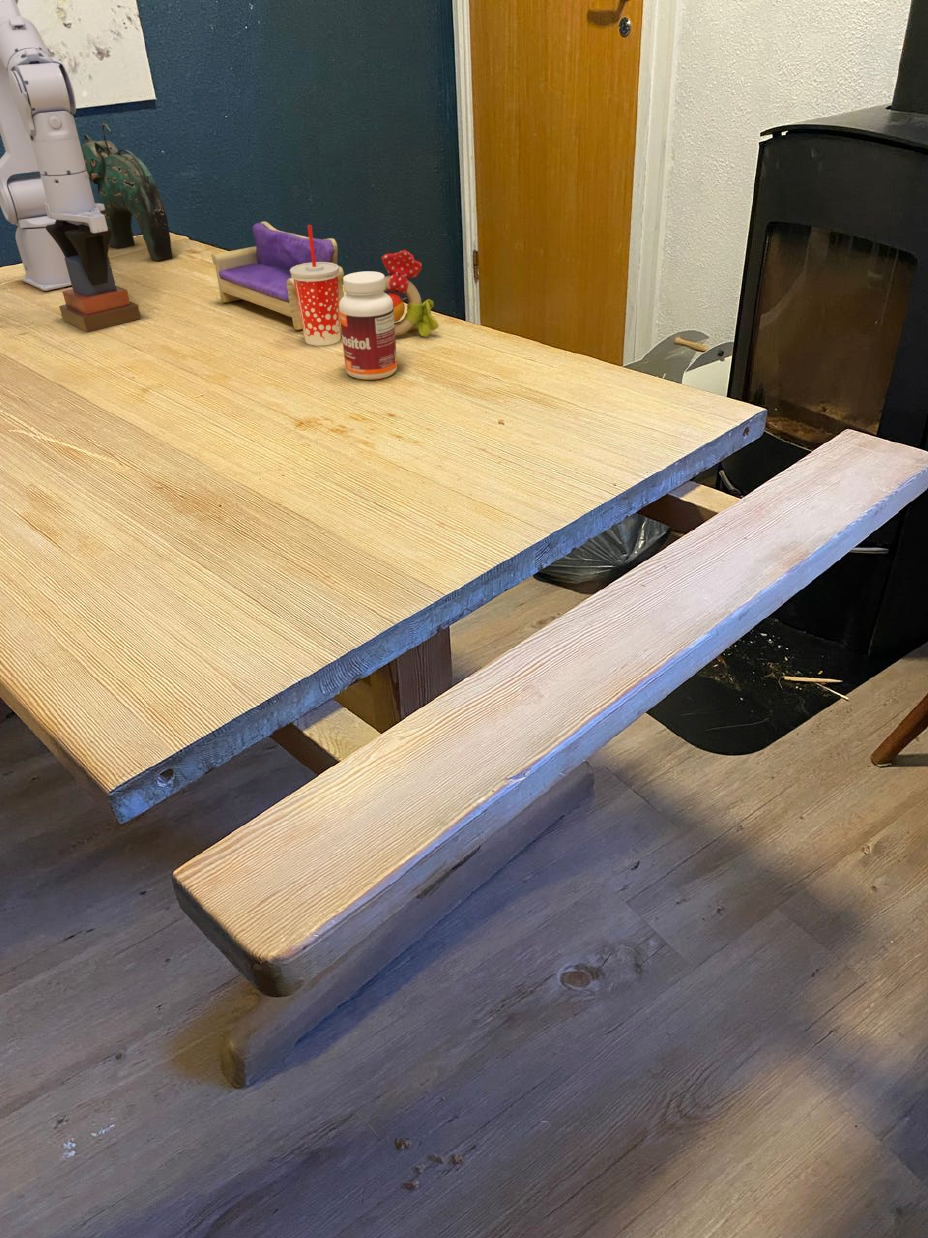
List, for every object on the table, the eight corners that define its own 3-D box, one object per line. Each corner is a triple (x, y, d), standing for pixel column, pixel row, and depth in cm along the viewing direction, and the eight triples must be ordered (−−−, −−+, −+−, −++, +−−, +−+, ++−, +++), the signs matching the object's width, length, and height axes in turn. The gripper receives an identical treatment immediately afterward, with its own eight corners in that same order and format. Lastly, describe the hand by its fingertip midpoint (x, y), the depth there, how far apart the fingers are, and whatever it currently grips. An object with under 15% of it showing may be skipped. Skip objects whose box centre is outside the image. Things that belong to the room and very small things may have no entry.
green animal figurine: (99, 245, 164) (68, 120, 152) (132, 239, 167) (104, 116, 156) (151, 264, 152) (122, 130, 140) (186, 256, 156) (160, 125, 144)
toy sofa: (217, 302, 133) (204, 228, 127) (268, 289, 138) (257, 217, 132) (298, 333, 120) (287, 253, 114) (350, 318, 125) (342, 240, 119)
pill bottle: (335, 373, 107) (324, 278, 101) (371, 359, 111) (363, 266, 105) (372, 385, 104) (363, 287, 98) (408, 369, 108) (402, 274, 101)
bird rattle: (397, 362, 116) (456, 324, 116) (356, 285, 109) (418, 245, 109) (382, 348, 121) (438, 311, 121) (341, 273, 114) (401, 235, 114)
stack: (62, 320, 128) (54, 291, 126) (115, 307, 132) (108, 279, 130) (87, 332, 123) (79, 302, 121) (141, 318, 127) (134, 289, 125)
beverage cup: (354, 341, 117) (343, 225, 109) (311, 350, 114) (296, 233, 106) (334, 329, 121) (321, 217, 113) (292, 338, 119) (276, 224, 110)
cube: (72, 290, 126) (63, 257, 123) (102, 283, 128) (94, 251, 125) (86, 296, 123) (77, 262, 120) (116, 289, 125) (108, 256, 123)
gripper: (117, 173, 115) (143, 283, 122) (69, 161, 123) (96, 265, 131) (64, 181, 111) (93, 295, 119) (18, 169, 119) (48, 275, 127)
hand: (91, 280), depth 125 cm, fingers closed on cube, 4 cm apart
